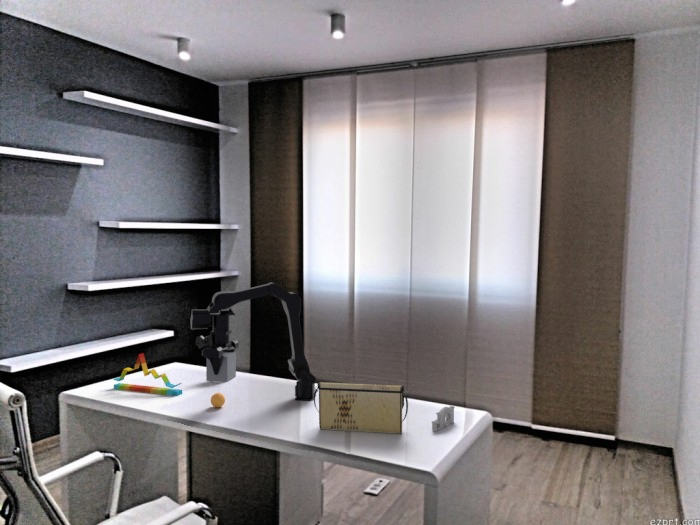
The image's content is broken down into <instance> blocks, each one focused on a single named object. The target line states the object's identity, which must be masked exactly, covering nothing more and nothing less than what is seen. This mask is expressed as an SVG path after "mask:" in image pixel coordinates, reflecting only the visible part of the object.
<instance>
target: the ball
mask: <svg viewBox="0 0 700 525" xmlns="http://www.w3.org/2000/svg"><path fill="white" fill-rule="evenodd" d="M225 402H226V398H225V395H224V394H223V393H221V392H216V393H214V394H212V396H211V397H210V404H211V405H212V407H213V408H220V407H223V406H224V404H225Z"/></svg>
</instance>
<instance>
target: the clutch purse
mask: <svg viewBox="0 0 700 525" xmlns="http://www.w3.org/2000/svg"><path fill="white" fill-rule="evenodd" d="M408 392H409V391H407V390H405V387H404V385H395V384H394V385H390V384H368V383H367V384H366V383H342V382H321V381H320V382H319V381H318V382H317V386H315V393H314V399H313V402H314V403H313V404H314V407H315V409H316V410H317V412H318V420H319V422H318V424H319V427H318V428H319V429H320V430H337V431H353V432H369V433H370V432H373V433H387V434H388V433H389V434H401V435H402V434H403V421H405V419H406V417H407V415H408V409H409V408H408V407H409V403H408V402H409V401H408ZM317 393H318V409H317V405H316V396H317ZM404 406H405V414H404V418H403V409H404Z"/></svg>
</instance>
